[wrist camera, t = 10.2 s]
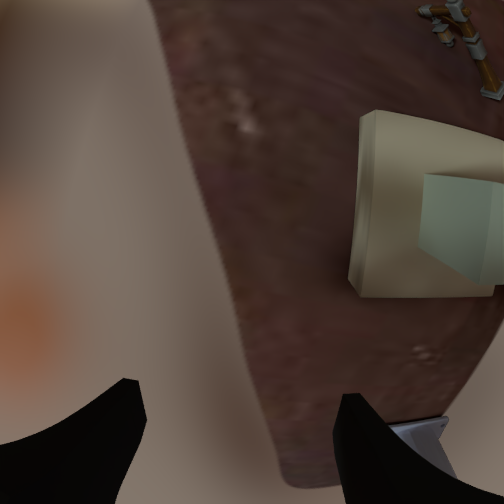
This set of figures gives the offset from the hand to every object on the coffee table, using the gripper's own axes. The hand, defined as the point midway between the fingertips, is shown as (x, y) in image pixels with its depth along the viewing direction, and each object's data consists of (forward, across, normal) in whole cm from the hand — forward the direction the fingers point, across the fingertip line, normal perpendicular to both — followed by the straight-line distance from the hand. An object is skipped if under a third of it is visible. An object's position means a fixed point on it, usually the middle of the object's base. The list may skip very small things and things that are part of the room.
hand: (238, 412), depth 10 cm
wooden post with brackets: (+11, -14, -18) cm, 25 cm away
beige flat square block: (+10, -11, -6) cm, 16 cm away
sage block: (+7, -11, -6) cm, 15 cm away
